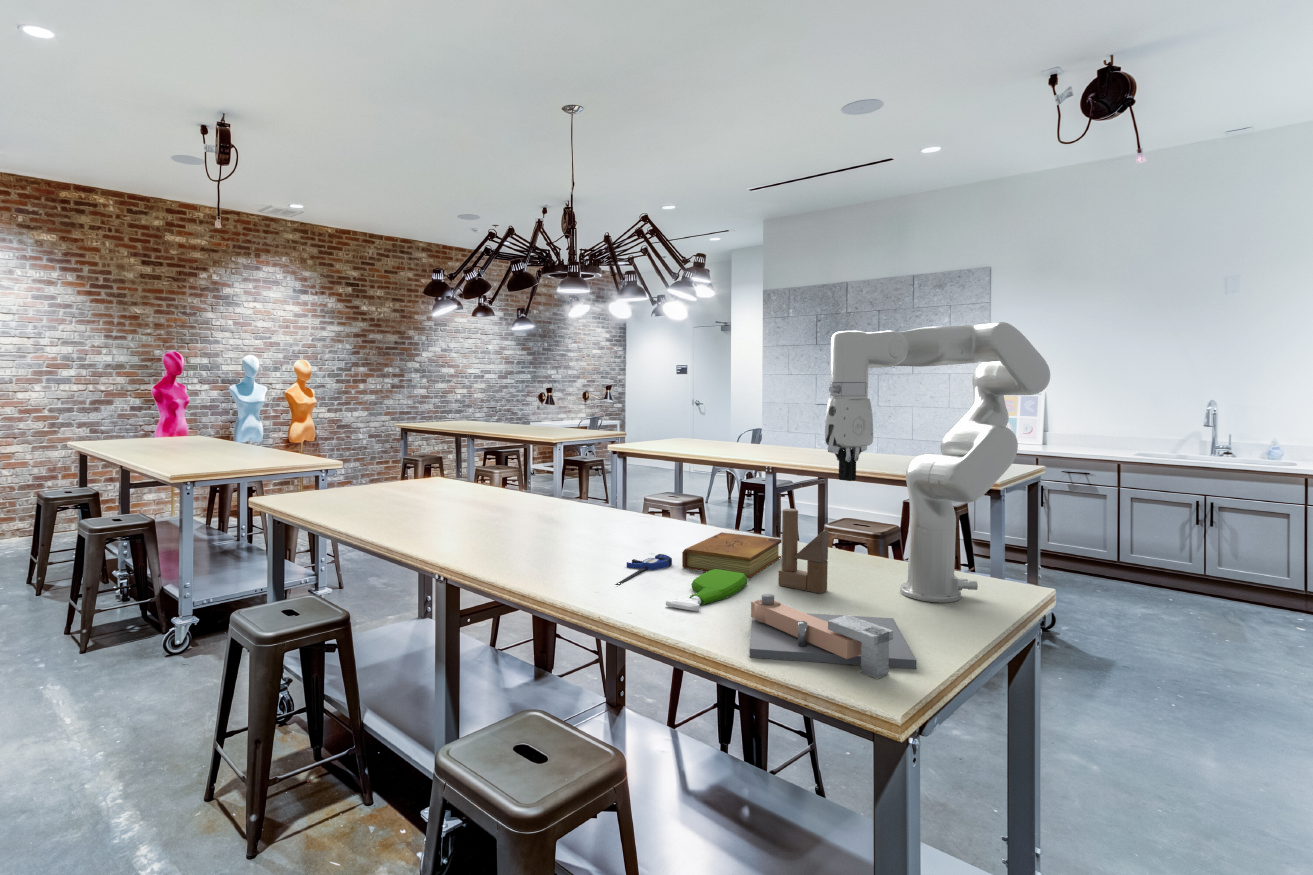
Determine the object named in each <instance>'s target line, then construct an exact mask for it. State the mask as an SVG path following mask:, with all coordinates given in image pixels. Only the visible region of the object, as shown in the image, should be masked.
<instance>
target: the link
mask: <svg viewBox="0 0 1313 875" xmlns="http://www.w3.org/2000/svg"><path fill="white" fill-rule="evenodd" d="M806 613H807V612H804V611H801V610H798V609H796V608H792V607H790V606H787V605H785V604H782V603H781V602H780V601H778V600H775V595H774V594H771V593H762V594H761V599H757V600H753V601H750V617H751V619H752V618H754V619H755V620H756V621H758V622H761V623H766V624H768V625H770V626H773V627H775V628H777V629H779V630H782V631H784V632H786V633H789V634H791V635H793V636H795V637H798V622H799V621H805V622H807V642H809V643H811V644H814V645H816V646H818V647H820V648H823V649H825V650H827V651H829V652H832V653H834V654H836V655H839V656H841V657H843V658H845V659H849V658H852V657H855V656H859V655H861V645H862V642H860V641H857V640H855V639H852V638H849V637H847V636H844V635H841V634H839V633H836V632H833V631H831V630H828V622H826V621H824V620H821V619H819V618H816V617H814V616H811V615H808V614H806Z"/></svg>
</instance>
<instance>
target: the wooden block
mask: <svg viewBox="0 0 1313 875" xmlns="http://www.w3.org/2000/svg"><path fill="white" fill-rule="evenodd" d="M781 523H782V526H781V528H782V529H781V532H782V533H781V536H782V537H781V539H782V541H781V569H779V570H778V580H777V582H778V583H777V585H778V586H781V587H786V588H790V589H796V590H801V591H804V592H805V591H807V592H809V593H814V594H819V595H821V594H824V593H825V592H826V591H828V565H829V564H828V563H829V562H828V559H829V529H826V530H823V531H821V532H820V533H819V534H817V535H816V537H814V538H813V539H811V541H810V542H808V543H807V544H806V546H804V547H803V548H802V549H801V550H800V551H798V548H799V547H798V545H799V544H798V543H799V542H798V538H799V537H798V536H799V534H798V533H799V510H798V509H796V508H784V509H782V520H781ZM798 560H803V561H807V568H806V569H807V570H806V571H805V570H800V569H798Z"/></svg>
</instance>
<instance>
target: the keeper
mask: <svg viewBox="0 0 1313 875" xmlns="http://www.w3.org/2000/svg"><path fill="white" fill-rule="evenodd" d="M852 616H853V615H849V614H845V616H842V617H838V618H835V619H832V620H829V621H828V630H831V631H833V632H836V633H839V634H841V635H844V636H847V637H849V638H852V639H855V640H857V641H860V642H862V645H861V665H860V673H862V674H863V675H865V676H869V677H871V678H873V679H875V680H878V679H880V678H883V677H885V676H888V675H889V668H890V667H889V641H890V640H893V630H890V629H887V628H885V627H882V626H879V625H876V624H873V623H870V622H867V621H864V620H861V619H858V618H855V617H852ZM798 646H800V647H807V622H805V621H799V622H798Z"/></svg>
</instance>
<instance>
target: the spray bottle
mask: <svg viewBox="0 0 1313 875" xmlns="http://www.w3.org/2000/svg"><path fill="white" fill-rule="evenodd" d="M747 584H748V578H747V577H746V576H745V574H744V573H739V572H732V571H726V570H719V569H713V570H710V571H708V572H704V573H702V574H700V575H698V577H696V578H695V579H693V581H692V582H691V589H692V591H694V593H695V594H691V595H690V596H689V597H688V598H683V599H682V597H681V596H678V599H674V600H666V601H665V606H667V607H671V608H674V609H681V610H687V611H692V612H693V611H694V612H700V606H701V605H702V606H703V605H708V604H710V603H715V602H718V601H722V600H724V599H727V598H730V597H732V596H735V595H736V594H738V593H740V591H741V590H743V589H744V588H745V586H747Z"/></svg>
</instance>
